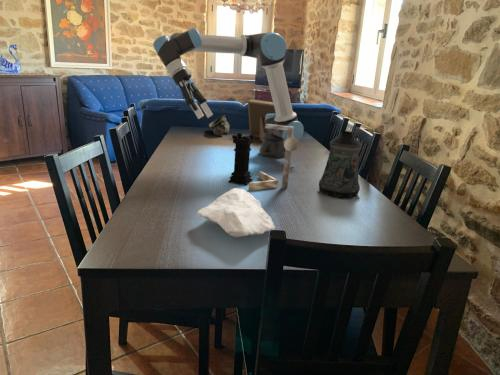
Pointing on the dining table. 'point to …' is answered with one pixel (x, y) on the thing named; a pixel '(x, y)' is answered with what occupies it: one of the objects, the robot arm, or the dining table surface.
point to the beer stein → (342, 168)
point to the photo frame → (259, 116)
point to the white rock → (238, 214)
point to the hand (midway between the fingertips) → (206, 116)
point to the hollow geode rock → (220, 126)
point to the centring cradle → (289, 146)
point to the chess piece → (241, 160)
